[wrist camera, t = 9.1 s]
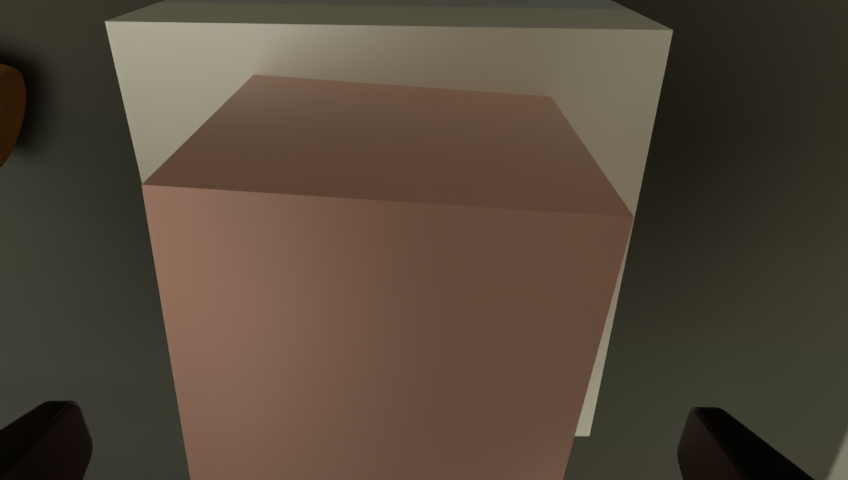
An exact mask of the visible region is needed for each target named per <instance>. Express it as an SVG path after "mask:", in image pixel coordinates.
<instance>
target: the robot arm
mask: <svg viewBox="0 0 848 480" xmlns="http://www.w3.org/2000/svg"><path fill="white" fill-rule="evenodd" d="M92 449H93V444H92V438H91V435H90V432H89V429H88V427H87V424H86V421H85V418H84V415H83V413H82V410H81V407H80V405H78V404H77V403H76V402H74V401H47V402H44V403H42V404H40V405H39V406H37V407H36V408H34V409H33V410H31V411H29V412H28V413H26V414H25V415H23V416H22V417H20V418H18V419H17V420H15V421H14V422H12V423H11V424H9V425H8V426H6V427H4V428H3V429H1V430H0V480H83V477H84V475H85V472H86V469H87V467H88V464H89V461H90V458H91V455H92ZM677 454H678V462H679V466H680V470H681V473H682V477H683V480H815V479H813V478H812V477H811V476H809V475H808V474H807V473H805V472H804V471H803V470H802V469H800V468H799V467H798V466H796V465H795V464H794V463H792V462H791V461H790V460H788V459H787V458H786V457H785V456H783V455H782V454H781V453H779V452H778V451H777V450H775V449H774V448H773V447H771V446H770V445H769V444H768V443H766V442H765V441H764V440H762V439H761V438H760V437H758V436H757V435H756V434H755V433H753V432H752V431H751V430H749V429H748V428H747V427H745V426H744V425H743V424H741V423H740V422H739V421H738V420H736V419H735V418H734V417H732V416H731V415H730V414H728V413H727V412H726V411H724V410H723V409H721V408H717V407H695V408H692V409H691V410H690V411H689V413H688V415H687V418H686V421H685V425H684V428H683V431H682V434H681V437H680V441H679V444H678V451H677Z"/></svg>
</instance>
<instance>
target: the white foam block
mask: <svg viewBox="0 0 848 480" xmlns="http://www.w3.org/2000/svg"><path fill="white" fill-rule="evenodd" d="M105 24H106V29H107V33H108V37H109V42H110V46H111V51H112V55H113V59H114V64H115V68H116V72H117V77H118V81H119V85H120V90H121V94H122V98H123V103H124V107H125V112H126V116H127V120H128V125H129V129H130V133H131V138H132V142H133V146H134V151H135V155H136V160H137V164H138V168H139V173H140V177H141V181H142V184H143V183H144V182H145V181H146V180H147V179H148V178H149V177H150V176H151V175H152V174H153V173H154V172H155V171H156V170H157V169H158V168H159V167H160V166H161V165H162V164H163V163H164V162H165V161H166V160H167V159H168V158H169V157H170V156H171V155H172V154H173V153H174V152H175V151H176V150H177V149H178V148H179V147H180V146H181V145H182V144H183V143H184V142H185V141H186V140H187V139H188V138H190V137H191V136H192V135H193V134H194V133H195V132H196V131H197V130H198V129H199V128H200V127H201V126H202V125H203V124H204V123H205V122H206V121H207V120H208V119H209V118H210V117H211V116H212V115H213V114H214V113H215V112H216V111H217V110H218V109H219V108H220V107H221V106H222V105H223V104H224V103H225V102H226V101H227V100H228V99H229V98H230V97H231V96H232V95H233V94H234V93H235V92H236V91H237V90H238V89H239V88H240V87H241V86H242V85H243V84H244V83H245V82H247V81H248V80H249V79H250V78H251V77H252V76H253V75H264V76H277V77H291V78H305V79H318V80H332V81H345V82H359V83H373V84H386V85H400V86H413V87H427V88H441V89H454V90H468V91H481V92H495V93H509V94H522V95H536V96H549V97H552V99H553V100H554V102H555V103H556V104H557V106H558V107H559V109H560V110H561V112H562V113H563V115H564V116H565V118H566V119H567V120H568V122H569V123H570V125H571V126H572V128H573V129H574V131H575V132H576V134H577V135H578V136H579V138H580V139H581V141H582V142H583V144H584V145H585V147H586V148H587V150H588V151H589V152H590V154H591V155H592V157H593V158H594V160H595V161H596V163H597V164H598V166H599V167H600V168H601V170H602V171H603V173H604V174H605V176H606V177H607V179H608V180H609V181H610V183H611V184H612V186H613V187H614V189H615V190H616V192H617V193H618V195H619V196H620V197H621V199H622V200H623V202H624V203H625V205H626V206H627V208H628V209H629V211H630V212H631V213H632V215H633V216H634V218H635V213H636V208H637V203H638V198H639V194H640V189H641V184H642V179H643V174H644V169H645V165H646V160H647V155H648V150H649V145H650V140H651V135H652V131H653V126H654V121H655V116H656V111H657V106H658V102H659V97H660V92H661V87H662V82H663V77H664V72H665V68H666V63H667V58H668V53H669V48H670V43H671V39H672V34H673V30H672V29H670V28H668V27H666V26H664V25H662V24H659V23H657V22H655V21H653V20H651V19H649V18H647V17H645V16H643V15H641V14H639V13H637V12H635V11H632V10H630V9H628V8H626V7H624V6H622V5H620V4H618V3H616V2H614V1H612V0H164V1H161V2H158V3H155V4H152V5H150V6H147V7H144V8H141V9H138V10H135V11H133V12H130V13H127V14H124V15H121V16H118V17H116V18H113V19H110V20H107V21H105ZM633 223H634V220H633ZM633 223H632V227H631V231H630V234H629V238H628V242H627V245H626V249H625V253H624V256H623V260H622V264H621V267H620V271H619V275H618V278H617V282H616V286H615V289H614V293H613V297H612V300H611V304H610V308H609V312H608V315H607V319H606V323H605V326H604V330H603V334H602V337H601V341H600V345H599V348H598V352H597V356H596V359H595V363H594V367H593V370H592V374H591V378H590V381H589V385H588V389H587V392H586V396H585V400H584V403H583V407H582V411H581V414H580V418H579V422H578V425H577V429H576V433H575V436H590V431H591V426H592V421H593V416H594V412H595V407H596V402H597V397H598V392H599V387H600V383H601V378H602V373H603V368H604V363H605V358H606V354H607V349H608V344H609V339H610V334H611V329H612V324H613V320H614V315H615V310H616V305H617V300H618V295H619V291H620V286H621V281H622V276H623V271H624V266H625V261H626V257H627V252H628V247H629V242H630V237H631V232H632V228H633Z"/></svg>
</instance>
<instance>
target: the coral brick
mask: <svg viewBox="0 0 848 480" xmlns="http://www.w3.org/2000/svg"><path fill="white" fill-rule="evenodd" d="M142 191H143V197H144V203H145V209H146V215H147V221H148V227H149V233H150V239H151V245H152V251H153V257H154V263H155V269H156V275H157V282H158V288H159V294H160V300H161V306H162V312H163V318H164V324H165V330H166V336H167V342H168V348H169V354H170V360H171V366H172V372H173V378H174V384H175V390H176V396H177V402H178V408H179V414H180V420H181V426H182V432H183V438H184V444H185V450H186V456H187V462H188V468H189V474H190V480H563V477H564V473H565V470H566V466H567V462H568V459H569V455H570V451H571V448H572V444H573V440H574V437H575V433H576V429H577V425H578V422H579V418H580V414H581V411H582V407H583V403H584V400H585V396H586V392H587V389H588V385H589V381H590V378H591V374H592V370H593V367H594V363H595V359H596V356H597V352H598V348H599V345H600V341H601V337H602V334H603V330H604V326H605V323H606V319H607V315H608V312H609V308H610V304H611V300H612V297H613V293H614V289H615V286H616V282H617V278H618V275H619V271H620V267H621V264H622V260H623V256H624V253H625V249H626V245H627V242H628V238H629V234H630V231H631V227H632V223H633V220H634V216H633V215H632V213H631V212H630V211H629V209H628V208H627V206H626V205H625V203H624V202H623V200H622V199H621V197H620V196H619V195H618V193H617V192H616V190H615V189H614V187H613V186H612V184H611V183H610V181H609V180H608V179H607V177H606V176H605V174H604V173H603V171H602V170H601V168H600V167H599V166H598V164H597V163H596V161H595V160H594V158H593V157H592V155H591V154H590V152H589V151H588V150H587V148H586V147H585V145H584V144H583V142H582V141H581V139H580V138H579V136H578V135H577V134H576V132H575V131H574V129H573V128H572V126H571V125H570V123H569V122H568V120H567V119H566V118H565V116H564V115H563V113H562V112H561V110H560V109H559V107H558V106H557V104H556V103H555V102H554V100H553V99H552V97H549V96H536V95H522V94H509V93H495V92H481V91H468V90H454V89H441V88H427V87H413V86H400V85H386V84H373V83H359V82H345V81H332V80H318V79H305V78H291V77H277V76H264V75H253V76H252V77H251V78H250V79H249V80H248V81H247V82H245V83H244V84H243V85H242V86H241V87H240V88H239V89H238V90H237V91H236V92H235V93H234V94H233V95H232V96H231V97H230V98H229V99H228V100H227V101H226V102H225V103H224V104H223V105H222V106H221V107H220V108H219V109H218V110H217V111H216V112H215V113H214V114H213V115H212V116H211V117H210V118H209V119H208V120H207V121H206V122H205V123H204V124H203V125H202V126H201V127H200V128H199V129H198V130H197V131H196V132H195V133H194V134H193V135H192V136H191V137H190V138H188V139H187V140H186V141H185V142H184V143H183V144H182V145H181V146H180V147H179V148H178V149H177V150H176V151H175V152H174V153H173V154H172V155H171V156H170V157H169V158H168V159H167V160H166V161H165V162H164V163H163V164H162V165H161V166H160V167H159V168H158V169H157V170H156V171H155V172H154V173H153V174H152V175H151V176H150V177H149V178H148V179H147V180H146V181H145V182H144V183H143V184H142Z"/></svg>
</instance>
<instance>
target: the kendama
mask: <svg viewBox="0 0 848 480" xmlns="http://www.w3.org/2000/svg"><path fill="white" fill-rule="evenodd" d="M26 100H27V90H26V85H25V81H24V78H23V75H22V74H21V72H20V71H19V70H17V69H15V68H13V67H10V66H7V65H4V64H0V167H1V166H2V165H3V164H4V163H5V161H6V160H7V158H8V157H9V155H10V153H11V151H12V150H13V148H14V146H15V143H16V141H17V139H18V136H19V133H20V130H21V128H22V126H23V120H24V116H25V108H26Z"/></svg>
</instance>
